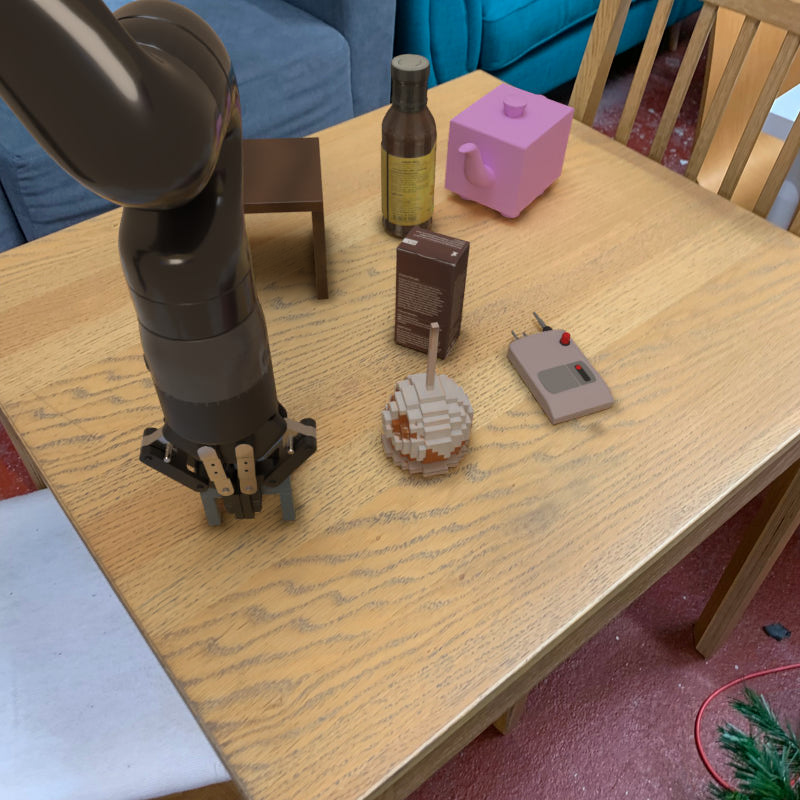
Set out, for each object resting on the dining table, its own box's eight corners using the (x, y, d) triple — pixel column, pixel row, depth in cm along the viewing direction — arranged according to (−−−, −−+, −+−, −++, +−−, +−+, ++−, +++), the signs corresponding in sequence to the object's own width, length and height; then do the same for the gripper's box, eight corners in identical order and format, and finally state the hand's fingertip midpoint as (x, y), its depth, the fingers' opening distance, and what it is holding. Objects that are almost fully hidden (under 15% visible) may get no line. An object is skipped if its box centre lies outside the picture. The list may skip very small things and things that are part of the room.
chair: (209, 526, 64) (193, 472, 58) (214, 457, 69) (200, 402, 63) (295, 520, 65) (288, 466, 59) (294, 453, 69) (288, 397, 64)
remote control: (562, 439, 71) (568, 418, 69) (488, 331, 81) (492, 309, 79) (622, 420, 73) (630, 400, 71) (543, 316, 83) (548, 295, 80)
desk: (179, 305, 82) (154, 206, 73) (188, 238, 90) (167, 140, 81) (328, 298, 84) (323, 200, 74) (324, 232, 91) (318, 136, 82)
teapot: (501, 152, 105) (514, 61, 95) (567, 177, 101) (587, 85, 92) (417, 219, 94) (423, 123, 84) (487, 251, 90) (501, 154, 81)
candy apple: (374, 419, 72) (375, 299, 61) (453, 407, 74) (468, 286, 62) (392, 485, 67) (397, 367, 56) (477, 471, 69) (497, 352, 57)
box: (461, 333, 80) (472, 240, 71) (444, 361, 78) (454, 267, 69) (409, 316, 82) (413, 223, 73) (391, 342, 79) (393, 249, 70)
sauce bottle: (442, 228, 93) (456, 66, 78) (402, 247, 90) (408, 82, 75) (409, 203, 96) (416, 43, 81) (369, 221, 93) (369, 58, 78)
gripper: (314, 310, 51) (327, 467, 64) (111, 320, 50) (166, 477, 63) (317, 393, 46) (330, 544, 59) (91, 405, 45) (155, 557, 58)
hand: (245, 509), depth 61 cm, fingers closed
